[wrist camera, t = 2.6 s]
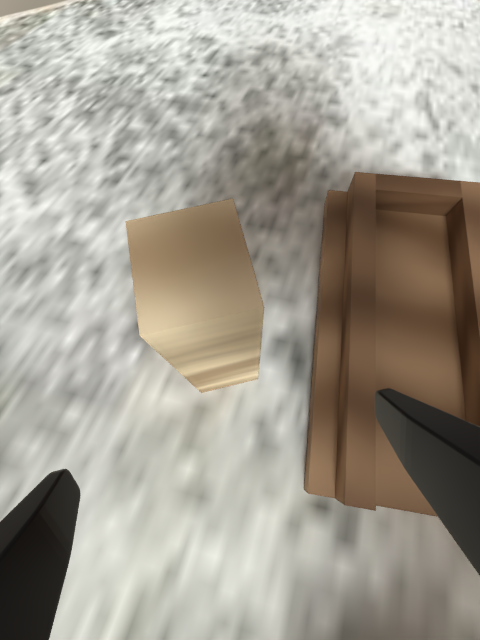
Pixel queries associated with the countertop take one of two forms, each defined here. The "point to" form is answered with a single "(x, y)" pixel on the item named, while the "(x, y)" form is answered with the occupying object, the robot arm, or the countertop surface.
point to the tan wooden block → (198, 293)
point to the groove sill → (391, 328)
